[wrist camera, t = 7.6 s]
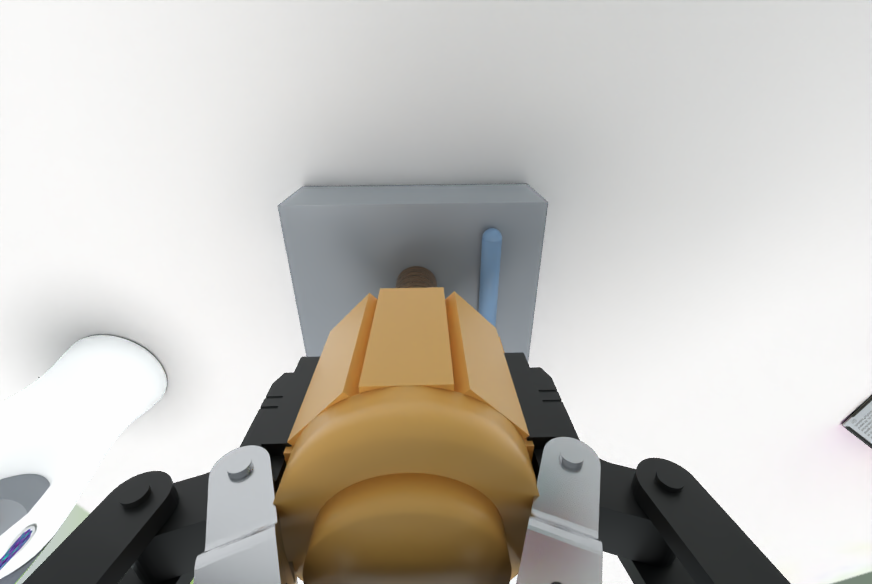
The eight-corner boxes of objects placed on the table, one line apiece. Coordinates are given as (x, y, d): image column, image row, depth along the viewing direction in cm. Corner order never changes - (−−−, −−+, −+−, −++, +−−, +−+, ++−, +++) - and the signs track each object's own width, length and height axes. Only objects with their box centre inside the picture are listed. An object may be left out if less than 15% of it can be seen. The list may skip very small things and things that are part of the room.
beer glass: (171, 338, 25) (-126, 625, 11) (178, 418, 28) (-48, 718, 14) (50, 319, 24) (-424, 605, 10) (72, 403, 27) (-275, 709, 14)
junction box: (302, 186, 21) (270, 211, 16) (526, 183, 21) (554, 207, 17) (338, 412, 28) (323, 471, 24) (504, 407, 28) (519, 465, 24)
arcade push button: (319, 289, 12) (216, 483, 6) (503, 285, 12) (582, 472, 6) (340, 425, 15) (284, 655, 9) (492, 421, 15) (540, 645, 9)
